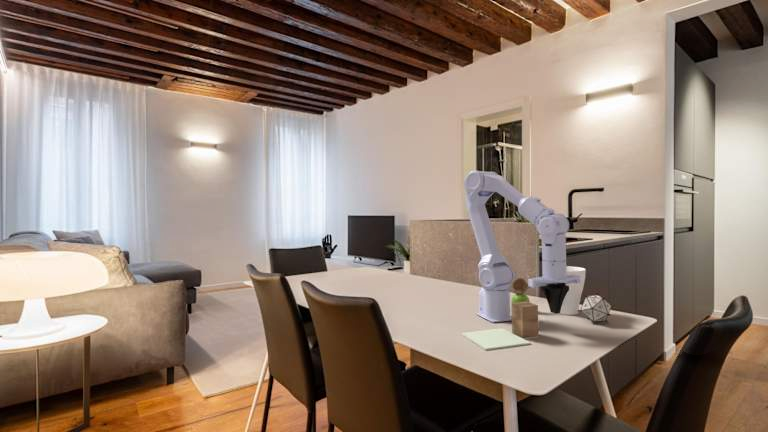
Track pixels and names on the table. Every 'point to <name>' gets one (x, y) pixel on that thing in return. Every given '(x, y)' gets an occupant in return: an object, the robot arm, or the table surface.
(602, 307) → the game die
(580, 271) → the cup
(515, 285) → the snail figurine
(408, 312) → the table surface
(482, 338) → the mat
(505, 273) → the robot arm
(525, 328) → the wooden block
